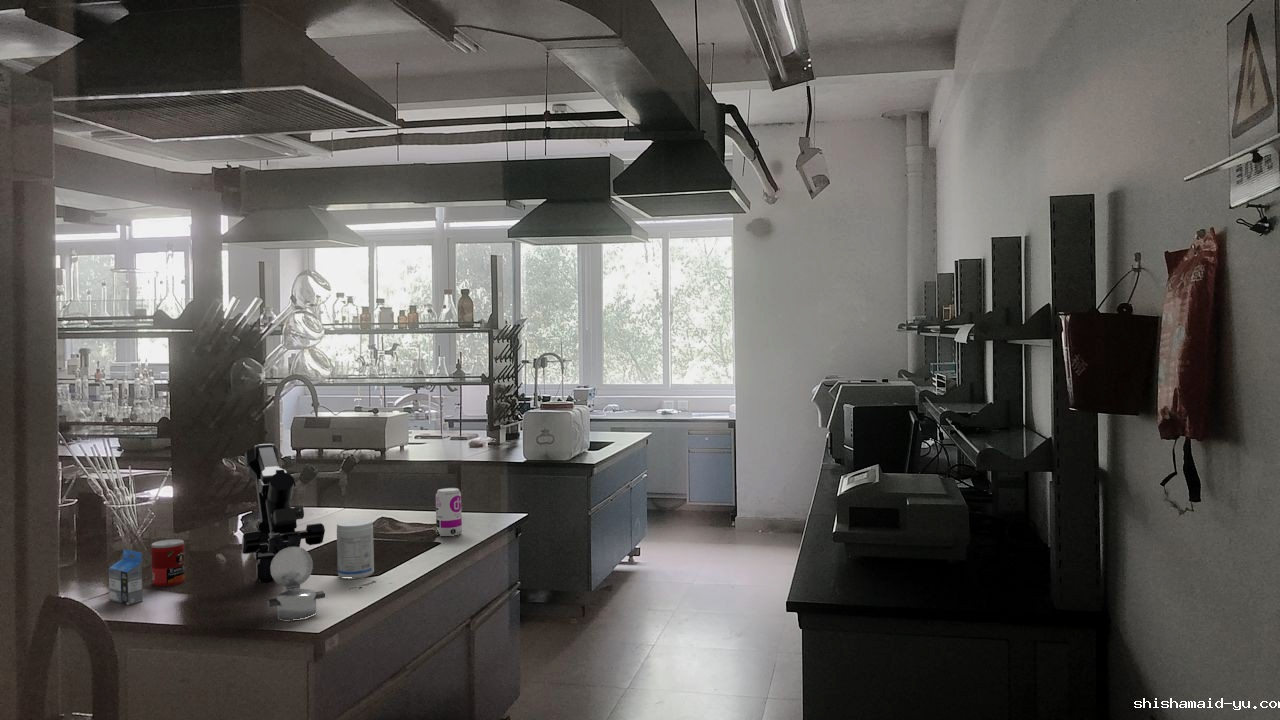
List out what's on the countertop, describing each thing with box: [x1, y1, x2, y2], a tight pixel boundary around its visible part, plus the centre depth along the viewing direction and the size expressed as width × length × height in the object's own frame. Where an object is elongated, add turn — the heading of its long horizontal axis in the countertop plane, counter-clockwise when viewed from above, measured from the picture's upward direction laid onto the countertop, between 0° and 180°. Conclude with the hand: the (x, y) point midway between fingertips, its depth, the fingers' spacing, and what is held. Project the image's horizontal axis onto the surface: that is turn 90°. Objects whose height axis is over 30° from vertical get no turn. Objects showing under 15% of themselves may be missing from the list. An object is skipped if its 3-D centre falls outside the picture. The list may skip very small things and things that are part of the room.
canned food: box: [150, 538, 186, 587], centre depth 229 cm, size 8×8×11 cm
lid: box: [270, 546, 314, 590], centre depth 203 cm, size 10×9×2 cm
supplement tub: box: [336, 518, 375, 580], centre depth 233 cm, size 10×10×15 cm
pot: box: [267, 587, 326, 620], centre depth 198 cm, size 12×10×5 cm
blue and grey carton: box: [108, 548, 143, 606], centre depth 213 cm, size 9×4×12 cm, turn 59°
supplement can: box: [435, 487, 463, 537], centre depth 281 cm, size 8×8×15 cm
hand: (288, 566), depth 206 cm, fingers closed
